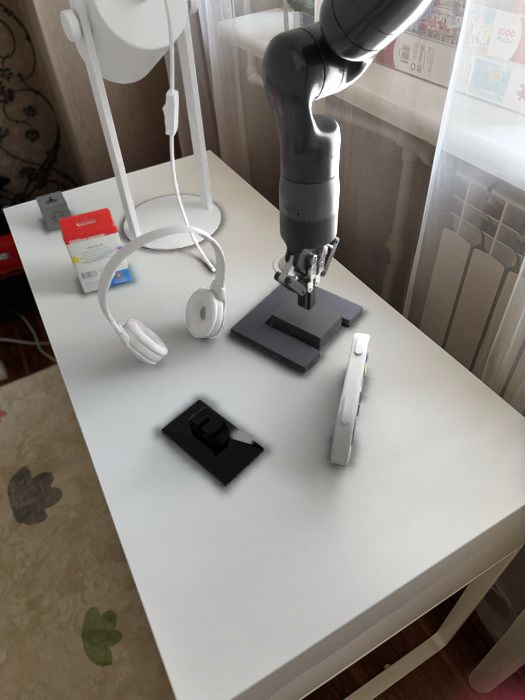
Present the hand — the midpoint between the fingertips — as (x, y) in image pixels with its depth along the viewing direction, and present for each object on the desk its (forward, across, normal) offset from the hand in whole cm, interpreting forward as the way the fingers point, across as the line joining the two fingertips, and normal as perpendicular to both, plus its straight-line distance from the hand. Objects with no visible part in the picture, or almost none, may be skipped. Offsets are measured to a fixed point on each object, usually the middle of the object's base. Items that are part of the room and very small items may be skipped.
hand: (306, 305), depth 80 cm
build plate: (+5, -25, -2) cm, 25 cm away
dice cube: (+5, -4, +59) cm, 59 cm away
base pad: (+4, 0, +2) cm, 5 cm away
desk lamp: (+5, +9, +36) cm, 37 cm away
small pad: (+4, 0, 0) cm, 5 cm away
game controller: (+5, -10, -14) cm, 18 cm away
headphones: (+5, -15, +14) cm, 21 cm away
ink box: (+5, -11, +36) cm, 38 cm away
